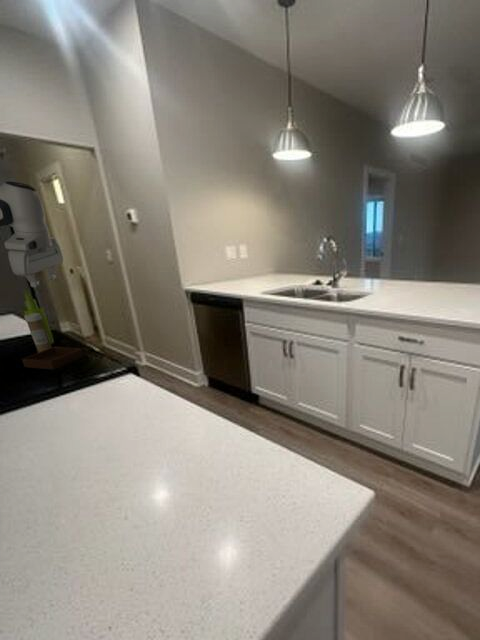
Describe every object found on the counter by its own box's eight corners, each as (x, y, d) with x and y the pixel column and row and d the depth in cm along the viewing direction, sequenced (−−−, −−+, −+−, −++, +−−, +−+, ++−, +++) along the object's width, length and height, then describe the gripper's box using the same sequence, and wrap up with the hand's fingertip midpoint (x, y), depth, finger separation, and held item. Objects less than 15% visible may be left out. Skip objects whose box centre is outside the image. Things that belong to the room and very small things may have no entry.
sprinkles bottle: (55, 348, 124) (42, 312, 119) (50, 352, 120) (36, 315, 114) (41, 350, 123) (27, 313, 118) (35, 354, 119) (21, 317, 113)
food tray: (24, 367, 108) (21, 359, 107) (56, 354, 118) (54, 346, 117) (54, 369, 105) (51, 361, 104) (84, 356, 115) (82, 348, 114)
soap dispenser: (36, 348, 125) (16, 293, 117) (35, 344, 130) (15, 291, 122) (55, 344, 128) (37, 290, 121) (53, 340, 133) (35, 288, 126)
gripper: (44, 234, 118) (53, 274, 124) (-1, 244, 100) (13, 290, 106) (63, 236, 118) (72, 275, 125) (22, 246, 100) (34, 292, 107)
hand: (44, 282), depth 115 cm, fingers open, 8 cm apart
